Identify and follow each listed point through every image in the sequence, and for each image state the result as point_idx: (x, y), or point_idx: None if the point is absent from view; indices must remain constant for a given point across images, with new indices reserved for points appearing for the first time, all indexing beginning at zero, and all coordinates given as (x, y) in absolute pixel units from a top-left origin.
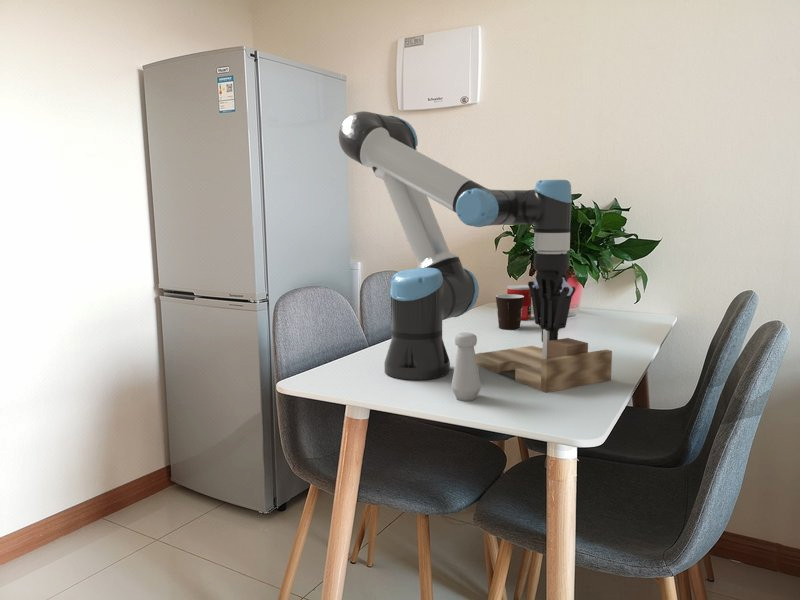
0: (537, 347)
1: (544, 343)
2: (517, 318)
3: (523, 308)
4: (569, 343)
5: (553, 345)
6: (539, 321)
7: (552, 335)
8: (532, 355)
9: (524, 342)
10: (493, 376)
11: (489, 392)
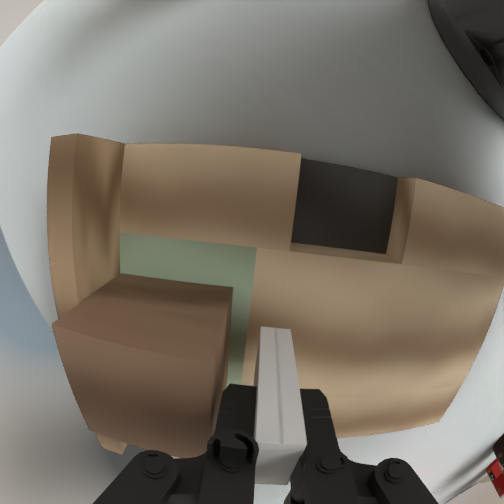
0: (422, 422)
1: (279, 375)
2: (502, 455)
3: (499, 472)
4: (99, 386)
5: (153, 340)
6: (371, 486)
7: (221, 426)
8: (394, 368)
9: (471, 429)
10: (382, 137)
11: (235, 9)
